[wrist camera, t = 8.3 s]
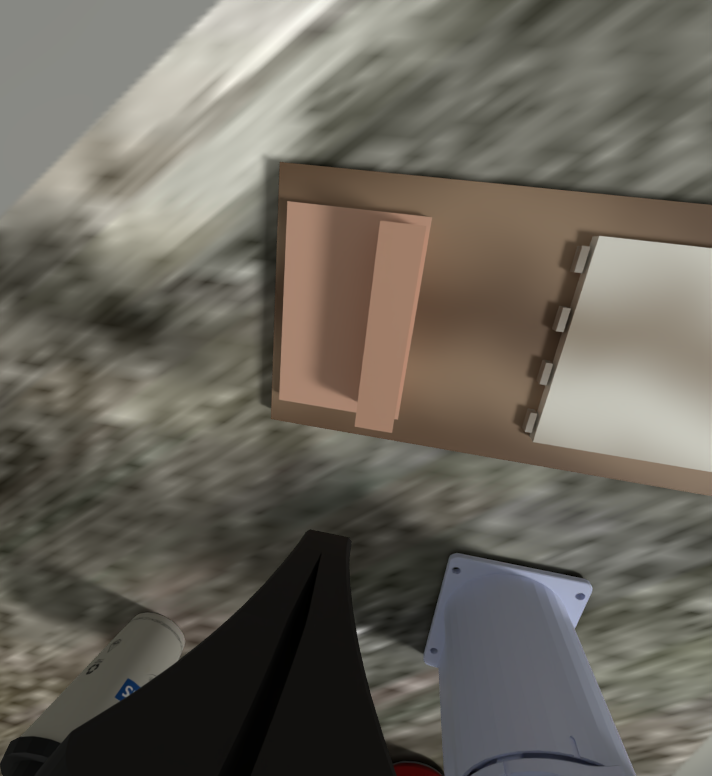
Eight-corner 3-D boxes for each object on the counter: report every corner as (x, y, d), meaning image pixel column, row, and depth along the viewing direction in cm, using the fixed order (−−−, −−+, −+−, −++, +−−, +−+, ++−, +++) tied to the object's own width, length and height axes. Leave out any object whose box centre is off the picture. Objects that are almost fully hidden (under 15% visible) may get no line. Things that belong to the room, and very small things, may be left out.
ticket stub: (398, 414, 19) (395, 444, 16) (283, 395, 19) (259, 420, 16) (431, 218, 15) (435, 210, 12) (291, 203, 16) (264, 191, 13)
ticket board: (745, 492, 18) (774, 513, 17) (277, 411, 21) (266, 423, 19) (900, 228, 14) (957, 226, 12) (287, 167, 16) (274, 158, 15)
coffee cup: (122, 653, 31) (-6, 826, 21) (112, 592, 28) (-37, 757, 19) (201, 673, 30) (104, 861, 21) (197, 612, 28) (86, 794, 18)
